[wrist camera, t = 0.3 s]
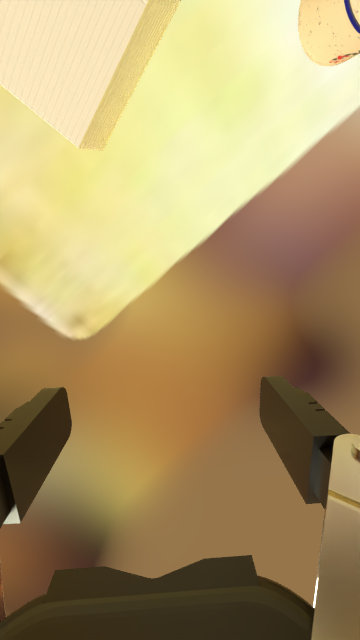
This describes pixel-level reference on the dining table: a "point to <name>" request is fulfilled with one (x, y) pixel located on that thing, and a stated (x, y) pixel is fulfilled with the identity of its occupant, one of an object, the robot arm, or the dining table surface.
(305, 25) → the teacup with lid
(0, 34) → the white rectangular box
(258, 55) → the dining table surface
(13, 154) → the dining table surface
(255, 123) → the dining table surface
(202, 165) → the dining table surface
